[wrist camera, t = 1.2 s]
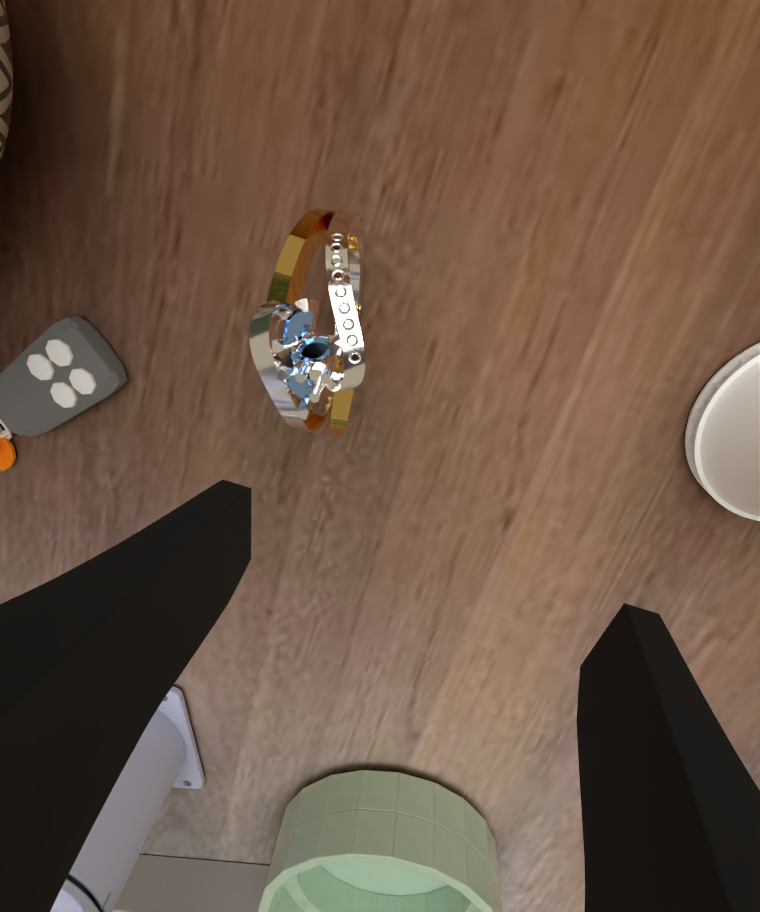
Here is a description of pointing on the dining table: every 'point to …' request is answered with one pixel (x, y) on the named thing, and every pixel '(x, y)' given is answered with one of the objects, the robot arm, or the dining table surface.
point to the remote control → (55, 381)
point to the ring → (313, 326)
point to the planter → (5, 76)
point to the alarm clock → (191, 886)
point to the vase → (729, 435)
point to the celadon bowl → (381, 849)
